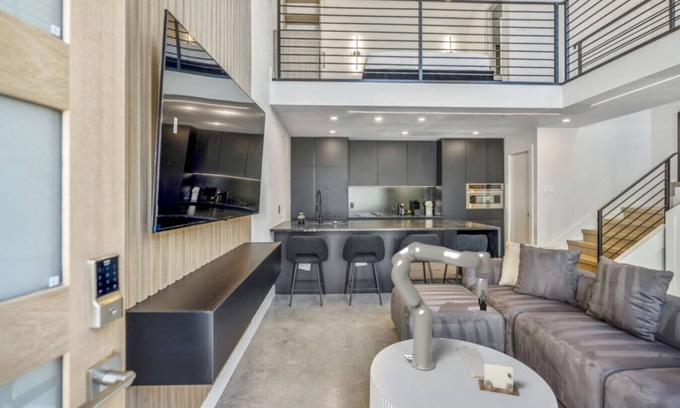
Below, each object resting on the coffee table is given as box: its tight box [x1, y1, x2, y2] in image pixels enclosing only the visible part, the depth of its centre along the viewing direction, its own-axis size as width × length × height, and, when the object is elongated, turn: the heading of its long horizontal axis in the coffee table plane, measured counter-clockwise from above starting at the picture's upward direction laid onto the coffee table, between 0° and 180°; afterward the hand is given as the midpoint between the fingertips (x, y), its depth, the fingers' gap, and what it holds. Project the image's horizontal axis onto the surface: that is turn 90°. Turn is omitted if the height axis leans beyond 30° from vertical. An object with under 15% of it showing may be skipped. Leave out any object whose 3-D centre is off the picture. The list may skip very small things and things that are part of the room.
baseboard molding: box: [457, 346, 486, 379], centre depth 182 cm, size 31×3×12 cm
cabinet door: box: [483, 363, 514, 389], centre depth 157 cm, size 12×4×9 cm, turn 72°
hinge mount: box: [478, 378, 520, 397], centre depth 157 cm, size 16×8×4 cm, turn 72°
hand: (482, 307), depth 179 cm, fingers open, 9 cm apart
